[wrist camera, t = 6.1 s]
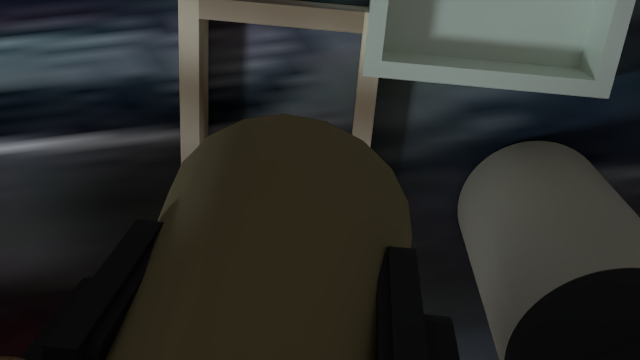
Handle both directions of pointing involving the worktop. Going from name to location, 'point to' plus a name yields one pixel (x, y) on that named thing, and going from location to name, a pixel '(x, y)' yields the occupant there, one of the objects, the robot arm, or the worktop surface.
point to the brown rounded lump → (269, 248)
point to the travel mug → (552, 255)
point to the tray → (500, 43)
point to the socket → (267, 9)
